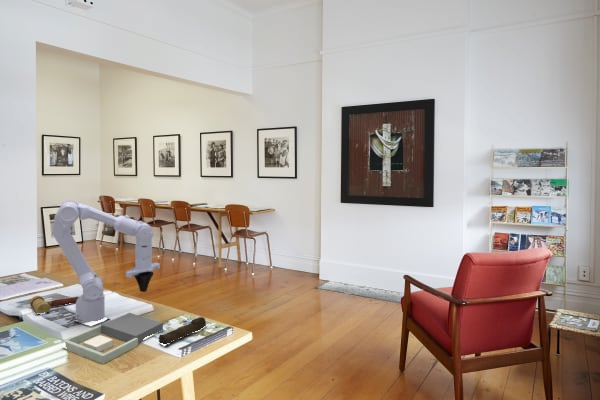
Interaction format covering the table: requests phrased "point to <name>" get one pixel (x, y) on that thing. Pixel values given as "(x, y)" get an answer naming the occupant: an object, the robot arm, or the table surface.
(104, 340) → the tile
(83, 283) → the robot arm
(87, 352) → the box
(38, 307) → the gavel
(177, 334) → the dark brown rounded bar
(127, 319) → the charcoal board
